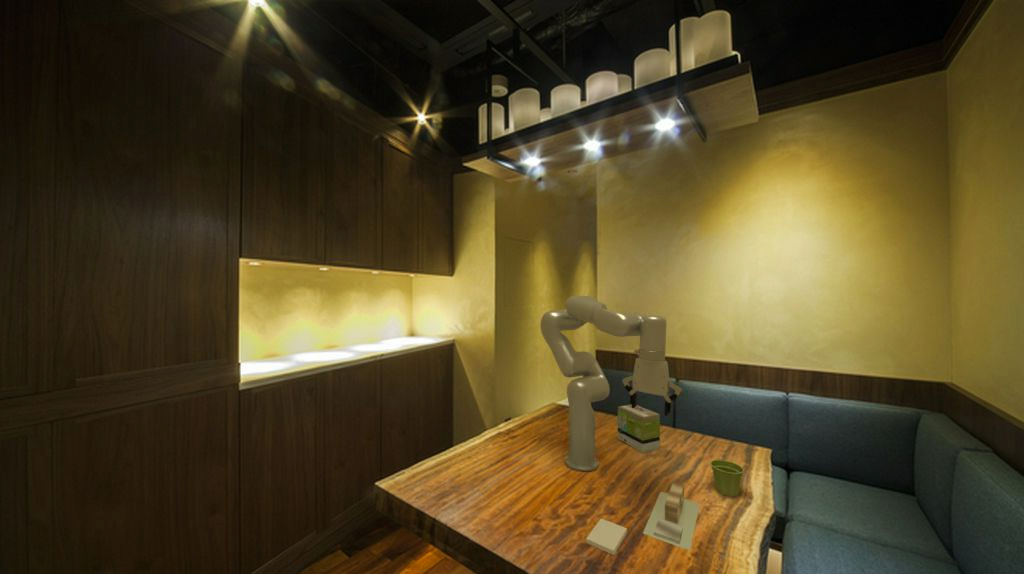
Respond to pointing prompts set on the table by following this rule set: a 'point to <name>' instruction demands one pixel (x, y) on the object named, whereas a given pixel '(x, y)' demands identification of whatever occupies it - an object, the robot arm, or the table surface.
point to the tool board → (686, 520)
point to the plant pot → (727, 477)
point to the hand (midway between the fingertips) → (649, 410)
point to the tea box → (639, 428)
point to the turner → (672, 515)
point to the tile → (606, 536)
